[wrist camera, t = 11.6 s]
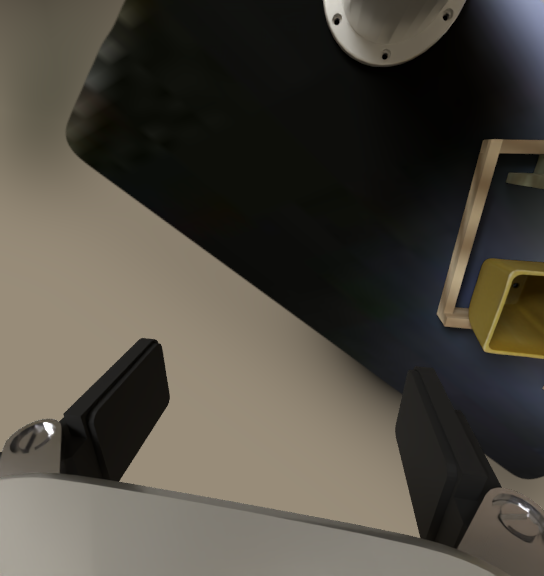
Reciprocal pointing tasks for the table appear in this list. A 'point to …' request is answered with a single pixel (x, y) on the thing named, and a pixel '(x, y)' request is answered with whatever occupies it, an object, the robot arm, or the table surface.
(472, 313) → the flower pot
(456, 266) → the wooden frame with block
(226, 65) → the table surface
